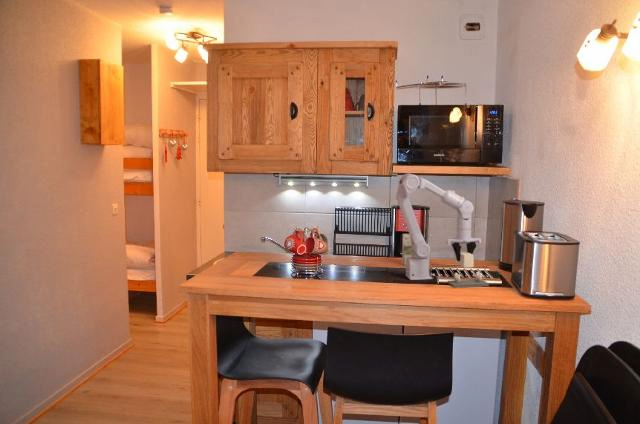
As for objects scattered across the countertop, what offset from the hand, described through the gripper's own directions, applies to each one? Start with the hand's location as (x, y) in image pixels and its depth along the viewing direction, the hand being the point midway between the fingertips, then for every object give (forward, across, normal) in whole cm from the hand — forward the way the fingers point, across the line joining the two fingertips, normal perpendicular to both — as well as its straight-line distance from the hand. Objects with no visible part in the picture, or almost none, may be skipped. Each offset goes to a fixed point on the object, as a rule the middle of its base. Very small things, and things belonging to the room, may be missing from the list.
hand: (463, 260), depth 208 cm
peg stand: (+7, -3, -12) cm, 14 cm away
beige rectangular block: (+2, 0, 0) cm, 2 cm away
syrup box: (+7, -16, +26) cm, 31 cm away
